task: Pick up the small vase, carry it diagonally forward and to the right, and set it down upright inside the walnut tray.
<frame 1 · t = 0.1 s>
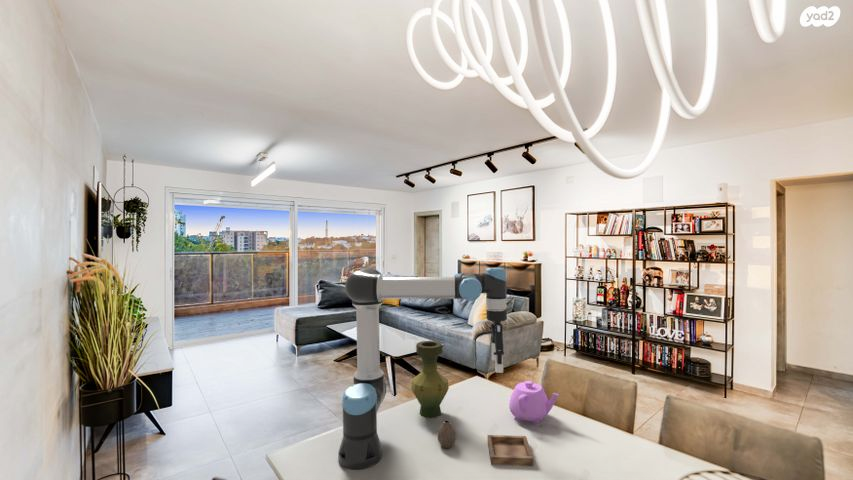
hand: (497, 366, 141), 28 cm above the table, fingers open, 13 cm apart
teapot: (532, 420, 156), on the table
vase: (447, 445, 138), on the table
walnut tray: (509, 453, 132), on the table
vase 2: (430, 413, 164), on the table
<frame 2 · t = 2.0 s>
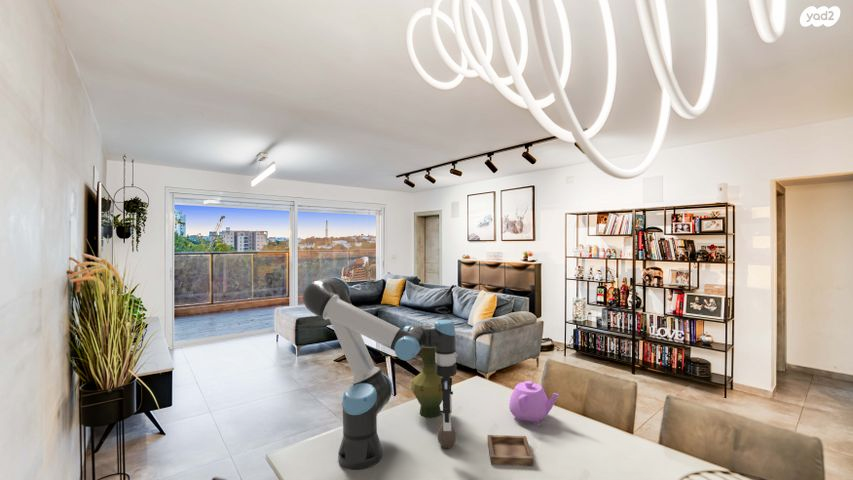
hand: (447, 421, 138), 9 cm above the table, fingers open, 13 cm apart
nothing on the table moved.
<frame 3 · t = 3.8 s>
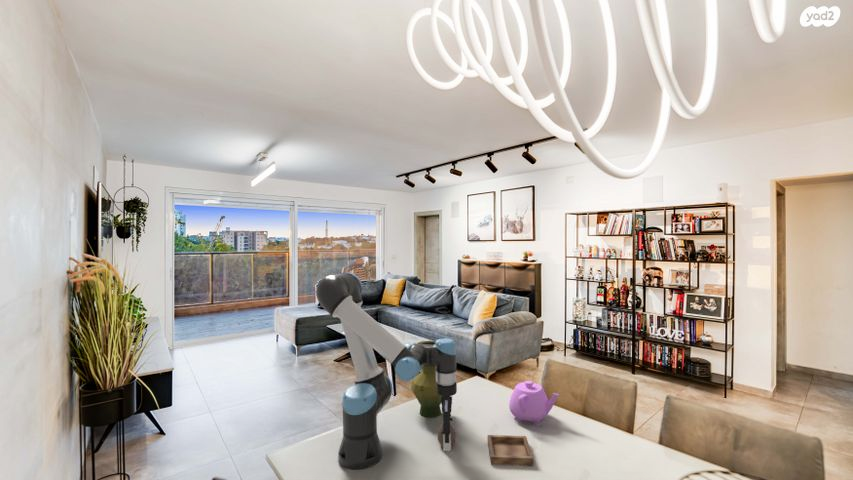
hand: (447, 444, 138), 0 cm above the table, fingers closed on vase, 7 cm apart
vase: (447, 445, 138), on the table, touching gripper
everything else where it was.
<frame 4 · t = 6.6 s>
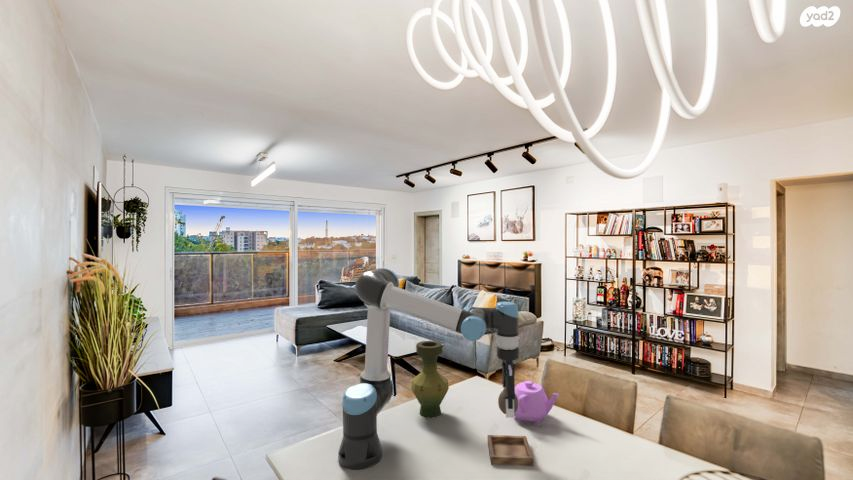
hand: (508, 411, 132), 15 cm above the table, fingers closed on vase, 7 cm apart
vase: (508, 412, 132), point 14 cm above the table, touching gripper
everything else where it was.
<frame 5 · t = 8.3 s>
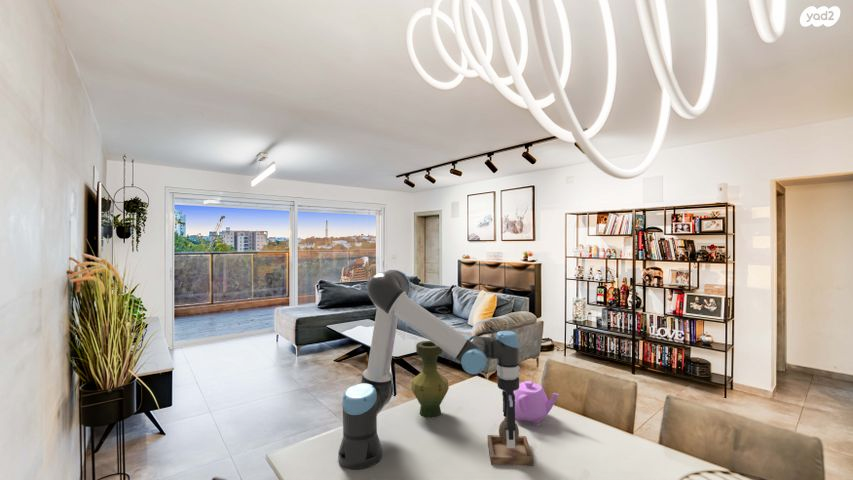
hand: (509, 441, 132), 4 cm above the table, fingers closed on vase, 7 cm apart
vase: (508, 442, 132), point 4 cm above the table, touching gripper
everything else where it was.
when the fingers open (2 cm above the table, at t = 9.5 s): vase drops 2 cm, resting on walnut tray.
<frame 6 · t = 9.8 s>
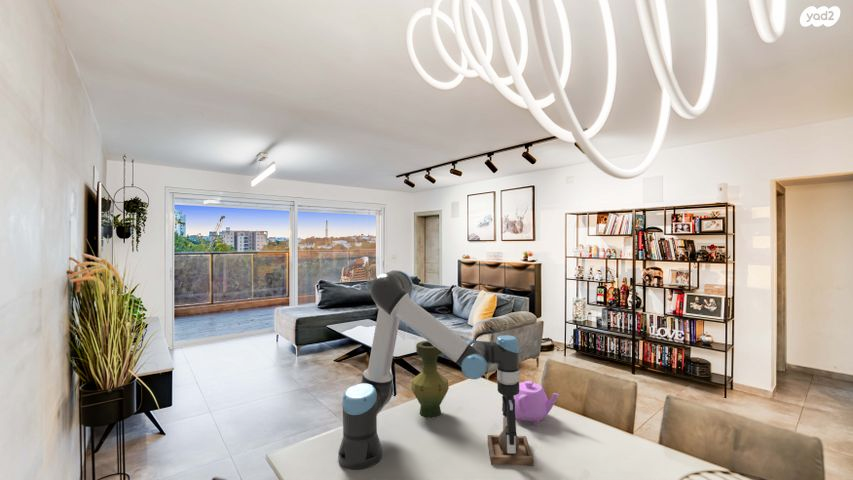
hand: (509, 443, 132), 3 cm above the table, fingers open, 11 cm apart
vase: (508, 452, 132), resting on walnut tray
everything else where it was.
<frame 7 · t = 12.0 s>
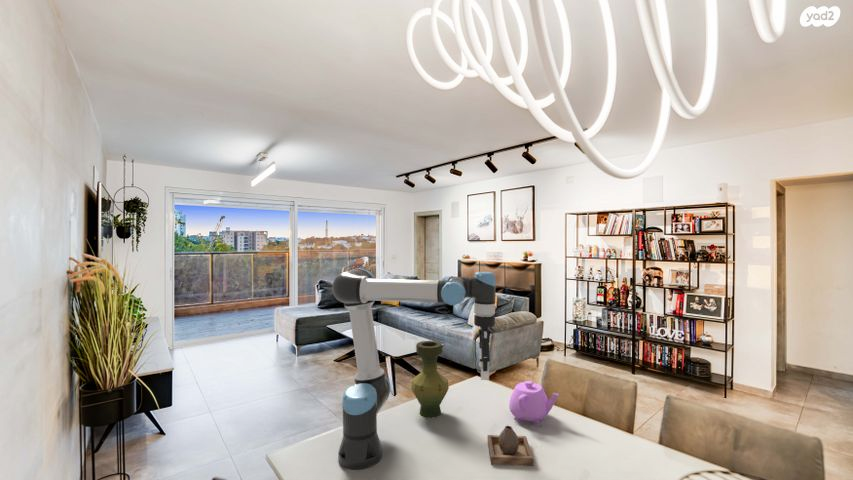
hand: (483, 372, 137), 27 cm above the table, fingers open, 13 cm apart
nothing on the table moved.
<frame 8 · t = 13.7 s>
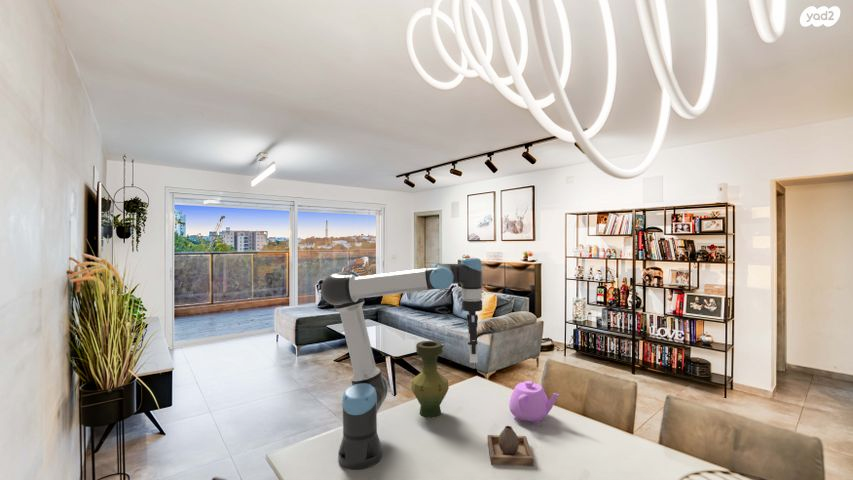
hand: (472, 356, 140), 32 cm above the table, fingers open, 13 cm apart
nothing on the table moved.
at the end: vase inside the target area on the walnut tray (0.4 cm from its centre), point 0.4 cm above the walnut tray's base; vase tilted 0°; the gripper is holding nothing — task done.
